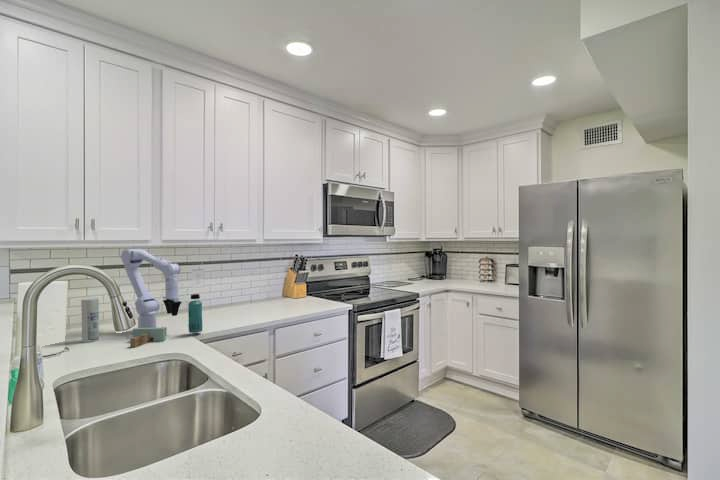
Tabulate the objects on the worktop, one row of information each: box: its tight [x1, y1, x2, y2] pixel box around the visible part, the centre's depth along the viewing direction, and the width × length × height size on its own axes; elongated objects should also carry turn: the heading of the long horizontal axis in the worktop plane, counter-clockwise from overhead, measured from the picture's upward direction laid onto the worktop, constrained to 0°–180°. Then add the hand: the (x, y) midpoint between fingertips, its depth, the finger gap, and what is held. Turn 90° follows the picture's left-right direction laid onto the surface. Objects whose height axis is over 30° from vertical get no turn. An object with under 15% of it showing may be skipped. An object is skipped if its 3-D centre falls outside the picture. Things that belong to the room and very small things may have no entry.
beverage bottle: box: [187, 293, 203, 334], centre depth 180 cm, size 6×7×20 cm
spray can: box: [80, 297, 100, 344], centre depth 170 cm, size 6×6×20 cm
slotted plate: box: [132, 326, 167, 343], centre depth 169 cm, size 14×2×6 cm, turn 91°
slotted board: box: [129, 326, 167, 349], centre depth 169 cm, size 20×2×4 cm, turn 171°
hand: (172, 314), depth 183 cm, fingers open, 7 cm apart
